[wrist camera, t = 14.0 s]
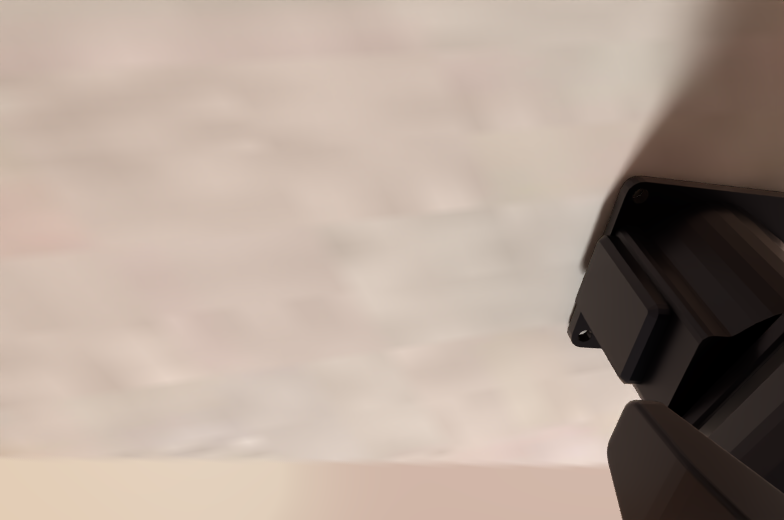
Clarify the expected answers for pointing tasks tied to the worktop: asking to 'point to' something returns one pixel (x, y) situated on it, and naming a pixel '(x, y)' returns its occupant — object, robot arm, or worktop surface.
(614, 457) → the robot arm
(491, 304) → the worktop surface
